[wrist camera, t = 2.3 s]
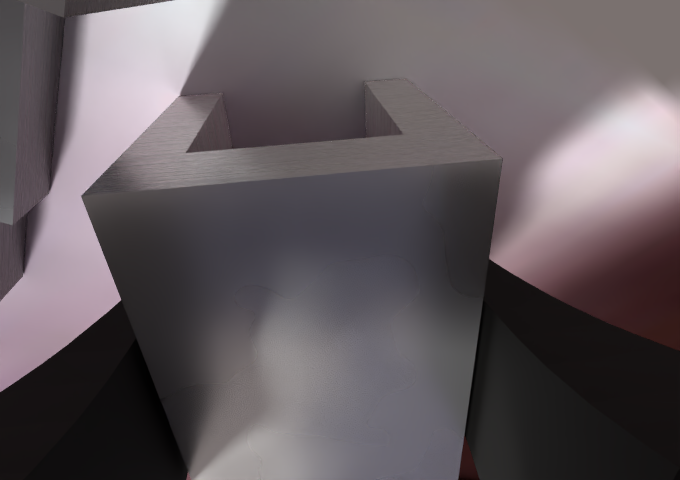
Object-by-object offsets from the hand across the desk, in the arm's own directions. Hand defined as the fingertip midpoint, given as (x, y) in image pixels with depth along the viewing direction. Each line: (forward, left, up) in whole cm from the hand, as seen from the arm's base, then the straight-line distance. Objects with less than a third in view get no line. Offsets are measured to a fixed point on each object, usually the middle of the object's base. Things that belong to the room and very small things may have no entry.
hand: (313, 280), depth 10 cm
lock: (0, 0, -1) cm, 1 cm away
